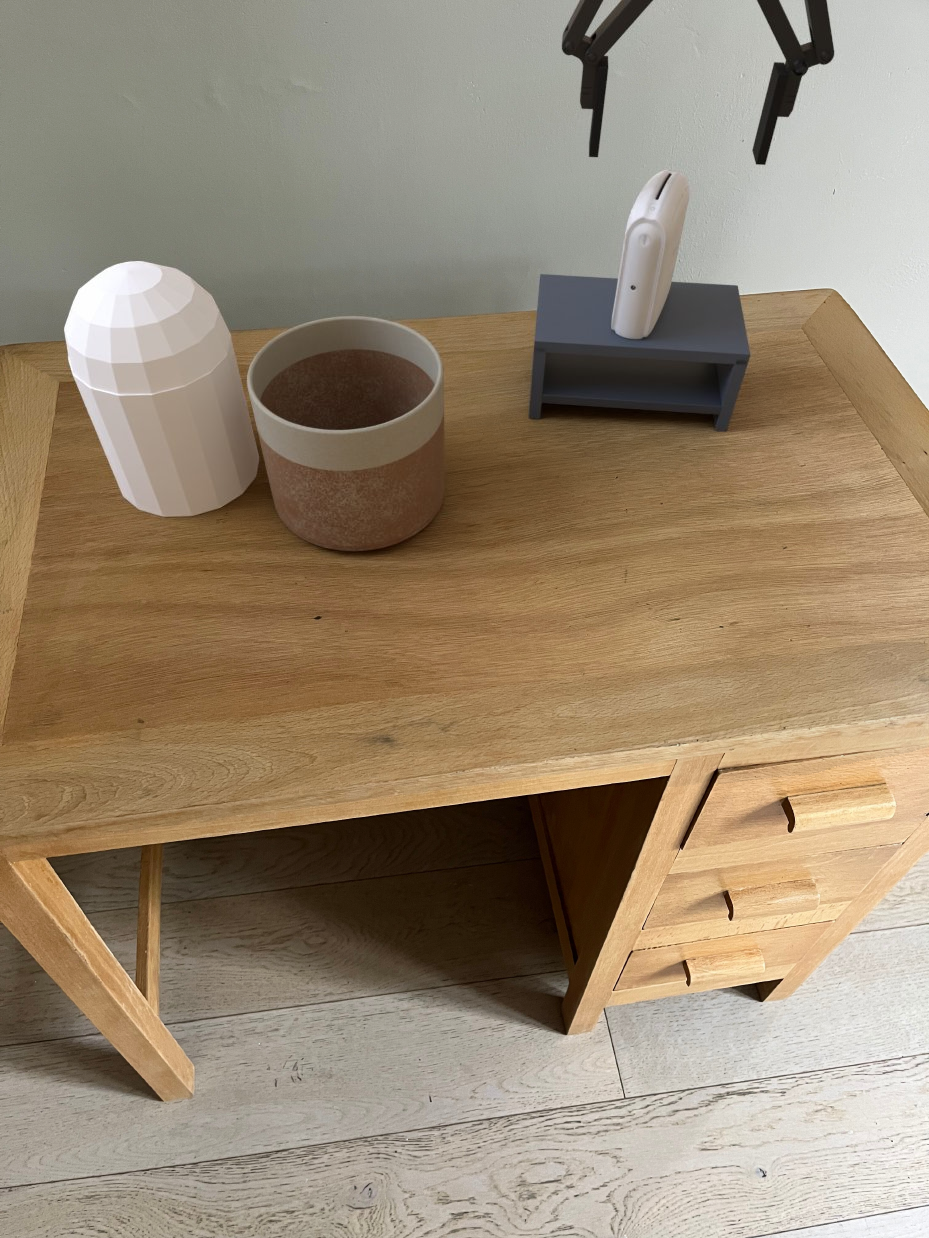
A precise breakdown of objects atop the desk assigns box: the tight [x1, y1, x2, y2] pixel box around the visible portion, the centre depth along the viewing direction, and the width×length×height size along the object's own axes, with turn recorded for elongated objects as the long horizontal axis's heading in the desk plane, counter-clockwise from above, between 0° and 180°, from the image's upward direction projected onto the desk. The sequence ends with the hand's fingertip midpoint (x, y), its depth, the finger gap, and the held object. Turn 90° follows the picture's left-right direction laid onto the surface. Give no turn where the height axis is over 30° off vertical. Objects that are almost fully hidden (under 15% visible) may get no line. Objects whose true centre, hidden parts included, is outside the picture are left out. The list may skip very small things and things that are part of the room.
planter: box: [246, 315, 446, 552], centre depth 75 cm, size 16×16×14 cm
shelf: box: [528, 273, 751, 432], centre depth 87 cm, size 20×12×9 cm, turn 84°
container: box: [63, 260, 260, 518], centre depth 75 cm, size 14×13×20 cm
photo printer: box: [611, 169, 690, 339], centre depth 79 cm, size 10×4×12 cm, turn 159°
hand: (675, 154), depth 71 cm, fingers open, 13 cm apart
